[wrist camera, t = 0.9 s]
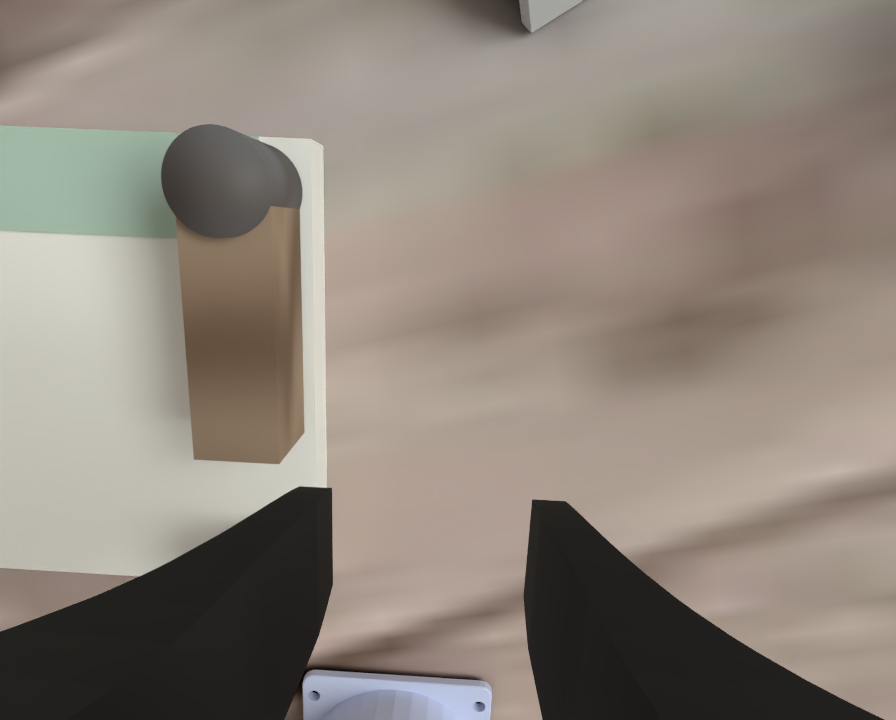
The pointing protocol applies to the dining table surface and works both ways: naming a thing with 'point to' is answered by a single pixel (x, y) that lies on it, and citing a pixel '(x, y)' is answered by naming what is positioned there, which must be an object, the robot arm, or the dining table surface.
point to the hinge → (543, 11)
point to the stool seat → (121, 359)
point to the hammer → (239, 292)
